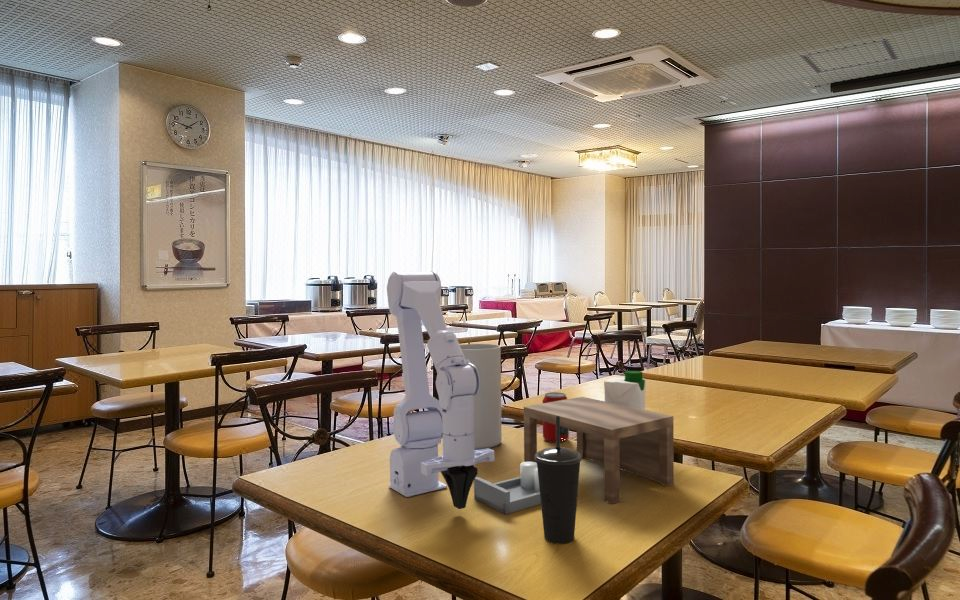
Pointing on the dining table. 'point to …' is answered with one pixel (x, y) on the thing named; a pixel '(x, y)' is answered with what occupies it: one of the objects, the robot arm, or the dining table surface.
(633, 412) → the wooden side table
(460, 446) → the robot arm
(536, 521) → the dining table surface
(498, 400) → the cylinder vase
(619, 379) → the milk carton
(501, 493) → the tray
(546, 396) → the beverage can
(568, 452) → the drinking cup
